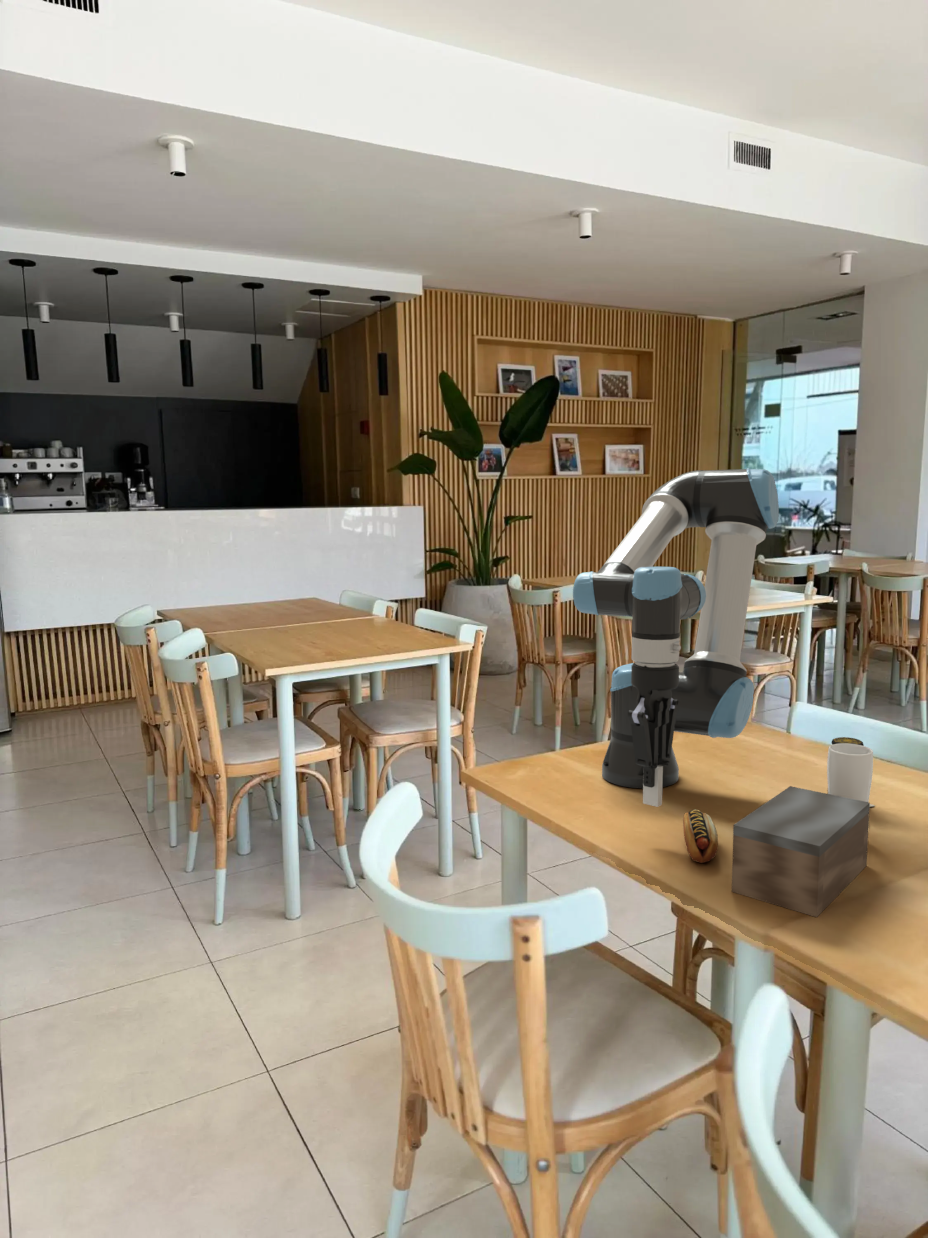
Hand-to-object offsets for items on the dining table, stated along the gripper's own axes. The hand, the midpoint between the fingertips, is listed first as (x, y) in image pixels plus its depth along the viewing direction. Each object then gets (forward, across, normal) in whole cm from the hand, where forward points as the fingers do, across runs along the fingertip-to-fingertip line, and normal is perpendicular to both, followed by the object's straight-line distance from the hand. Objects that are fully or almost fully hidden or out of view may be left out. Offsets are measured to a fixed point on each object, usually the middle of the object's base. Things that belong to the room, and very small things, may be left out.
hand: (652, 804), depth 143 cm
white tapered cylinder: (+6, +21, -24) cm, 32 cm away
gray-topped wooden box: (+6, +1, -24) cm, 25 cm away
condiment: (+6, +37, -18) cm, 41 cm away
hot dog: (+6, +1, -8) cm, 11 cm away
